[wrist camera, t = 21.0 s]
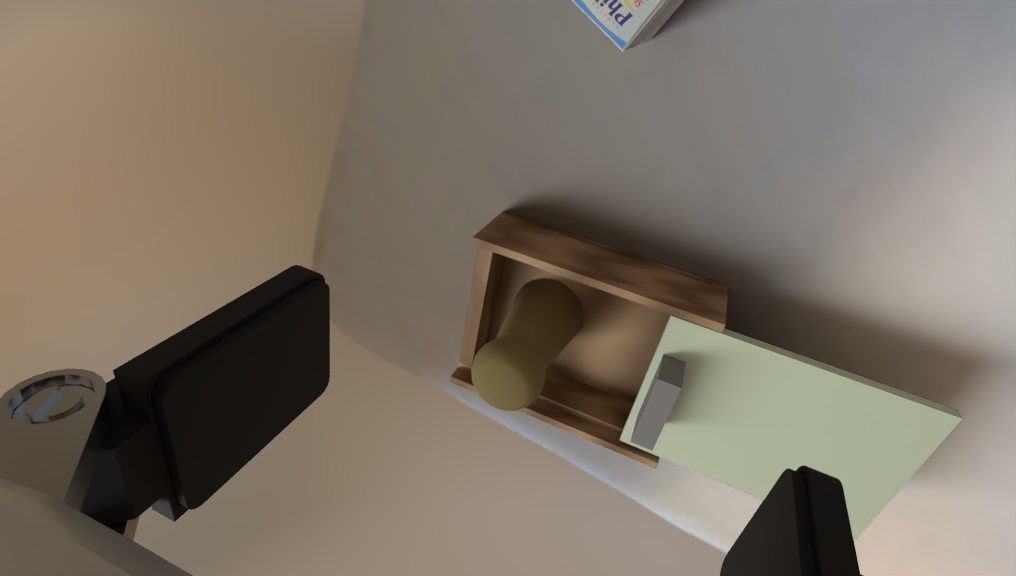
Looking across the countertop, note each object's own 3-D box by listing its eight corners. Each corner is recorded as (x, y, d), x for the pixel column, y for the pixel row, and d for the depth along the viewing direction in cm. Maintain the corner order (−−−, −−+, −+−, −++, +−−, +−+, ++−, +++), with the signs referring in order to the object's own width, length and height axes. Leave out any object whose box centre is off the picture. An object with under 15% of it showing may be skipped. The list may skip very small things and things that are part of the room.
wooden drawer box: (728, 285, 39) (725, 325, 34) (665, 420, 46) (655, 468, 42) (503, 211, 43) (472, 237, 38) (478, 345, 50) (450, 381, 46)
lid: (958, 410, 32) (980, 453, 29) (854, 530, 39) (863, 576, 36) (672, 310, 36) (665, 339, 33) (621, 433, 43) (611, 467, 40)
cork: (503, 315, 47) (445, 390, 38) (534, 264, 43) (478, 333, 34) (562, 354, 46) (517, 439, 37) (597, 305, 43) (557, 386, 34)
